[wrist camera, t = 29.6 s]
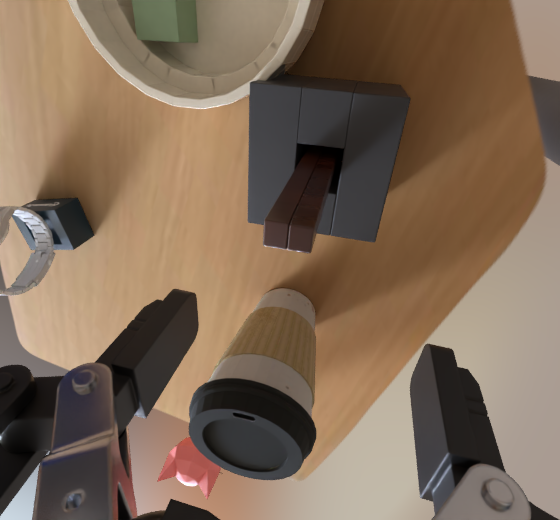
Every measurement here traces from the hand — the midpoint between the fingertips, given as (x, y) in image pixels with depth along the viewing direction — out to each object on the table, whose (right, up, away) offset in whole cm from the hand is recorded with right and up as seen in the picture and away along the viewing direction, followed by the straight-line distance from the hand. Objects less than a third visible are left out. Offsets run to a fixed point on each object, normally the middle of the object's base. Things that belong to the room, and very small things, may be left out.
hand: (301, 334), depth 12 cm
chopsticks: (+3, +12, +15) cm, 19 cm away
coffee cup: (0, -3, +25) cm, 25 cm away
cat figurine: (-9, -17, +36) cm, 41 cm away
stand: (+3, +12, +15) cm, 19 cm away
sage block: (-8, +20, +12) cm, 24 cm away
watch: (-24, +7, +25) cm, 35 cm away
